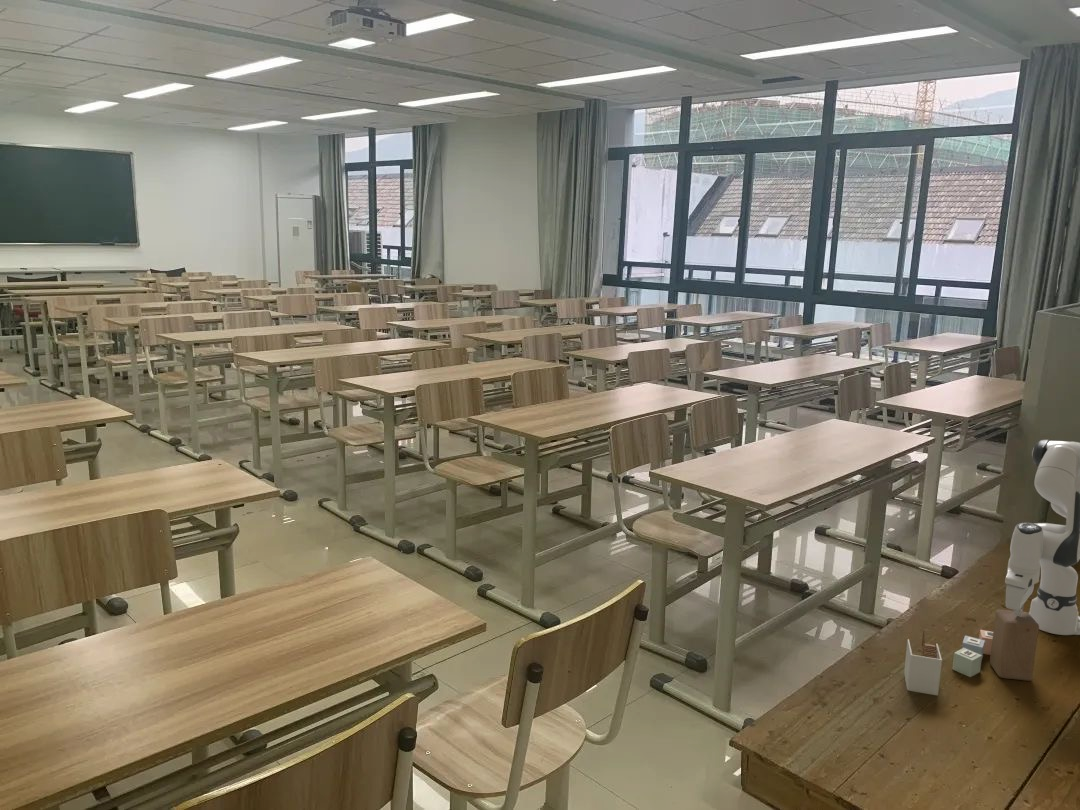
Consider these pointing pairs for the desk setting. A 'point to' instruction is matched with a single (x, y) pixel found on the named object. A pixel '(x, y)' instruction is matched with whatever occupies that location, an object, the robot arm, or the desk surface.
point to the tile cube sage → (967, 662)
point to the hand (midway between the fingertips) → (1017, 613)
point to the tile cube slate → (974, 645)
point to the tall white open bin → (923, 669)
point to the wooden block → (1014, 645)
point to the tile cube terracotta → (986, 640)
